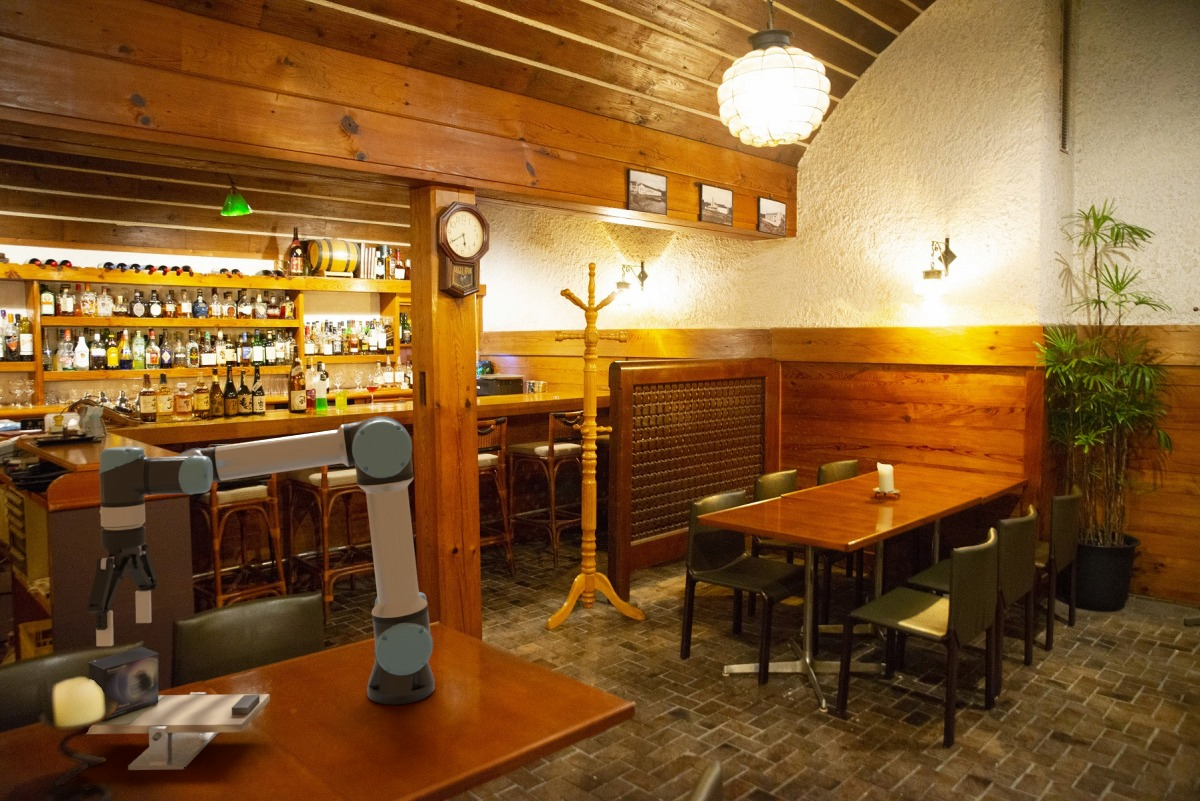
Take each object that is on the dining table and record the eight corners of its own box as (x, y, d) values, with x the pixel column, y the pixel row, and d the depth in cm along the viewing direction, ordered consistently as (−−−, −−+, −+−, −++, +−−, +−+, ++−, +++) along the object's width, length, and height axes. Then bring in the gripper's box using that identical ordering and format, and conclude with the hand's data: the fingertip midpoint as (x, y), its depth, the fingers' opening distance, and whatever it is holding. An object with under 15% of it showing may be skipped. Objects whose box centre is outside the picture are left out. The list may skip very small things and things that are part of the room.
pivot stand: (224, 726, 166) (224, 690, 165) (183, 769, 148) (182, 729, 147) (176, 726, 165) (175, 691, 165) (128, 770, 147) (127, 730, 147)
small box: (104, 723, 150) (103, 668, 149) (87, 715, 153) (86, 661, 153) (160, 703, 158) (159, 651, 158) (142, 696, 162) (142, 645, 162)
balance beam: (269, 701, 164) (269, 687, 164) (241, 732, 150) (241, 716, 150) (121, 702, 163) (121, 688, 163) (79, 734, 149) (79, 718, 149)
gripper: (138, 514, 167) (139, 614, 168) (62, 539, 142) (65, 656, 143) (174, 514, 167) (176, 613, 168) (105, 539, 142) (107, 656, 143)
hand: (125, 633), depth 155 cm, fingers open, 13 cm apart
